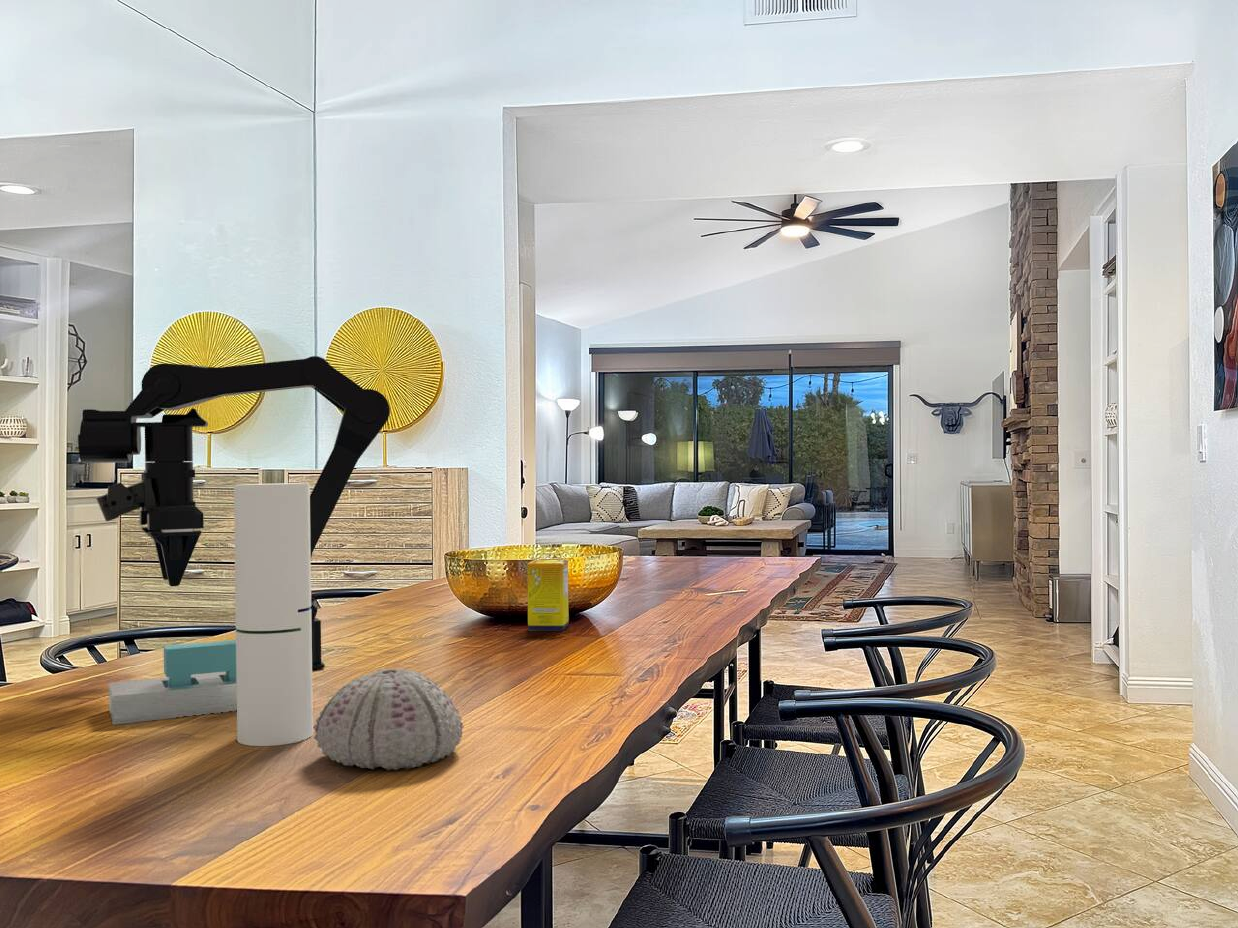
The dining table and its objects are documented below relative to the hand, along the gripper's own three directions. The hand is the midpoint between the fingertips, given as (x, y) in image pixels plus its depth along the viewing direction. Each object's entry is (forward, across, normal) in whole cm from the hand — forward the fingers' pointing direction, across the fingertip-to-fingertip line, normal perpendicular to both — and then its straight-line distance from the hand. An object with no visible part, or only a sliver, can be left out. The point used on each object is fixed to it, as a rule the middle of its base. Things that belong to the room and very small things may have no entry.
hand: (170, 582), depth 139 cm
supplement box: (+12, -11, +58) cm, 60 cm away
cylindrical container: (+12, +40, +6) cm, 42 cm away
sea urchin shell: (+12, +53, +14) cm, 56 cm away
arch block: (+12, +22, +2) cm, 25 cm away
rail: (+12, +22, +2) cm, 25 cm away
